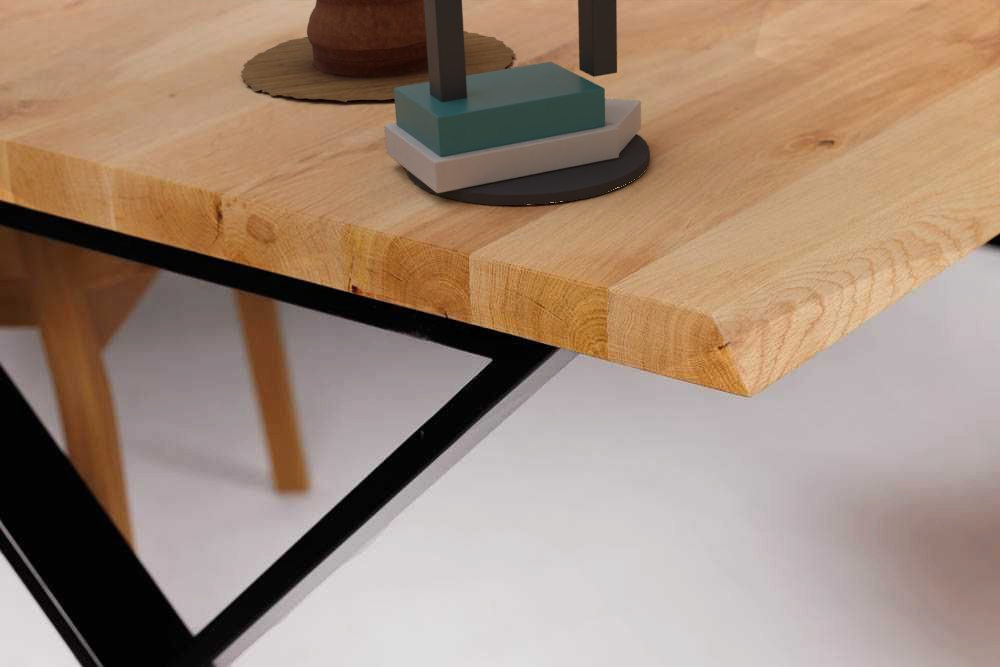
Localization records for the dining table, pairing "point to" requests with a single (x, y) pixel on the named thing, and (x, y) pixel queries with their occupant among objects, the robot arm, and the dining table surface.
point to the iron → (509, 108)
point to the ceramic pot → (361, 53)
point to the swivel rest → (558, 181)
